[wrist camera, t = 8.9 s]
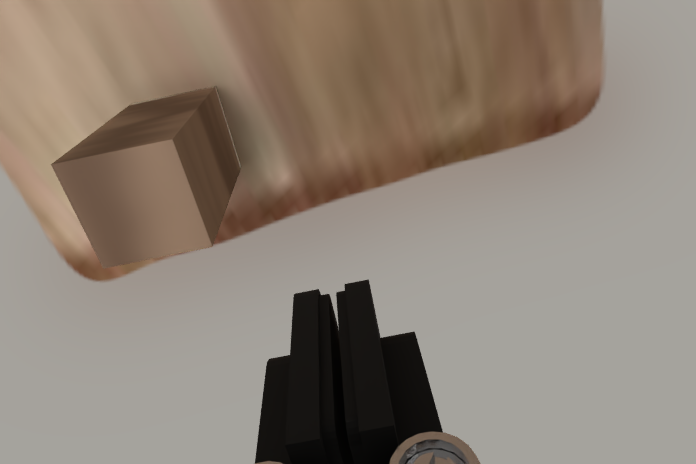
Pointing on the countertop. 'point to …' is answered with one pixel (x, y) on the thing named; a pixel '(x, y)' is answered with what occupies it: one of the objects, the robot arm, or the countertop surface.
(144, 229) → the walnut block
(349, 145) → the countertop surface
